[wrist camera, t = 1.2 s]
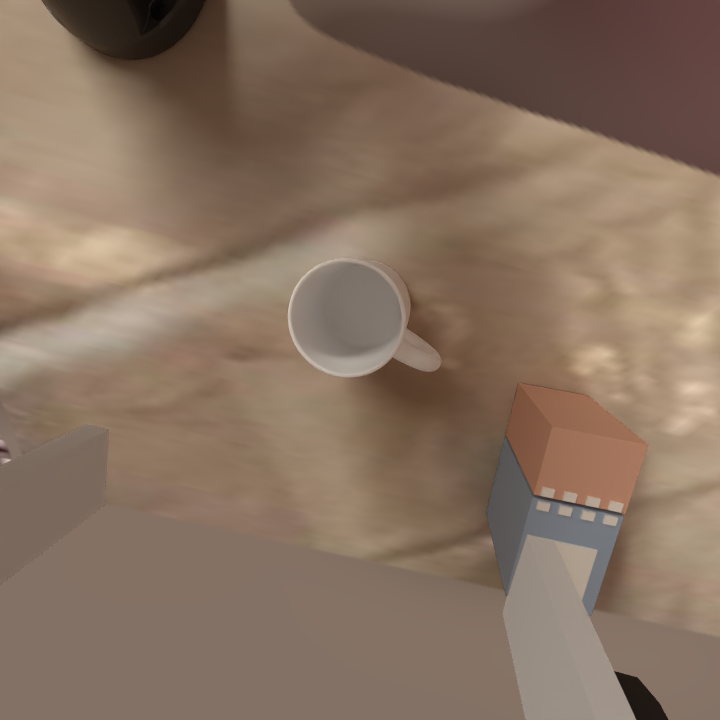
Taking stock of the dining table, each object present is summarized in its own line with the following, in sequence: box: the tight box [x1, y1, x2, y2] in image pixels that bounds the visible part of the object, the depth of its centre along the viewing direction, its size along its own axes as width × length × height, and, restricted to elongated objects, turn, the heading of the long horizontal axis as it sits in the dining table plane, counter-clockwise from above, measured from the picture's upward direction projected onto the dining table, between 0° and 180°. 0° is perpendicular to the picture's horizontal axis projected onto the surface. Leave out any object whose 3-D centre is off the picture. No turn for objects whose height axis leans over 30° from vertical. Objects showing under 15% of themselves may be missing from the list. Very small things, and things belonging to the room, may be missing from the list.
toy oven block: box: [486, 437, 624, 616], centre depth 36 cm, size 8×6×11 cm
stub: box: [506, 383, 648, 514], centre depth 35 cm, size 5×6×11 cm
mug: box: [288, 258, 441, 378], centre depth 35 cm, size 12×8×10 cm
